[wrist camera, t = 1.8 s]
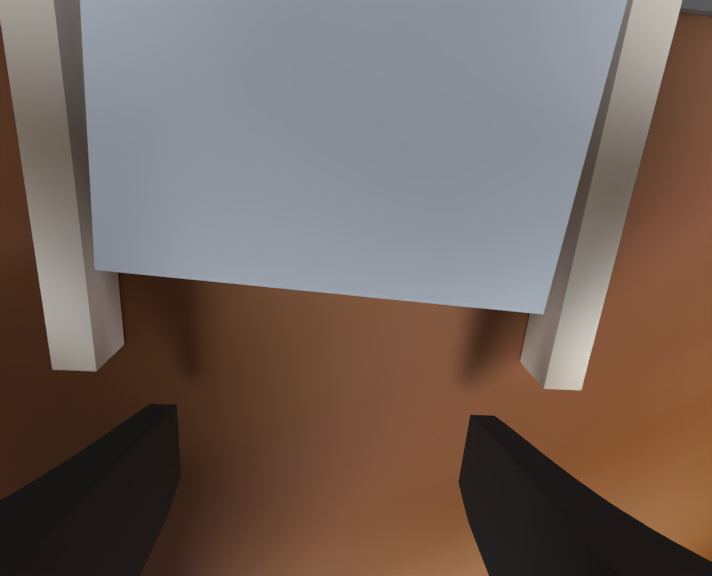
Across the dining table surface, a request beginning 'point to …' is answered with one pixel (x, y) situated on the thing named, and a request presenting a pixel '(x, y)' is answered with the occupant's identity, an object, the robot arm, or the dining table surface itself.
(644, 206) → the dining table surface
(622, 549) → the robot arm
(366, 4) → the block
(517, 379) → the dining table surface
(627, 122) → the trap lane
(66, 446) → the dining table surface
